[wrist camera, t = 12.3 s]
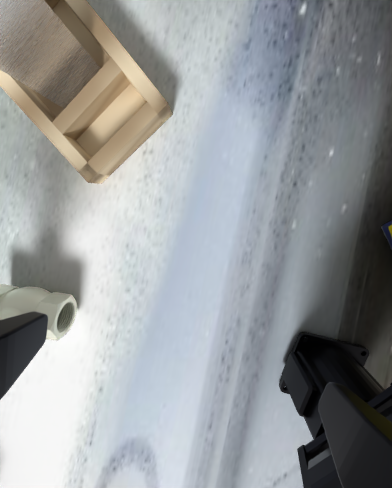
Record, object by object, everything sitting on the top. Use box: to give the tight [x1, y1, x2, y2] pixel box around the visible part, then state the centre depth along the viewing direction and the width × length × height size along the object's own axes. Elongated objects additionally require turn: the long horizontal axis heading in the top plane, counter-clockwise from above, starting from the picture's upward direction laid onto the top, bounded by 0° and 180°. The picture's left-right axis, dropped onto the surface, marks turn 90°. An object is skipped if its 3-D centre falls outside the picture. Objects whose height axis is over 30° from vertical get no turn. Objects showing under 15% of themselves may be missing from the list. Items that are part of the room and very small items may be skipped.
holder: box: [0, 0, 173, 184], centre depth 16 cm, size 12×8×2 cm
